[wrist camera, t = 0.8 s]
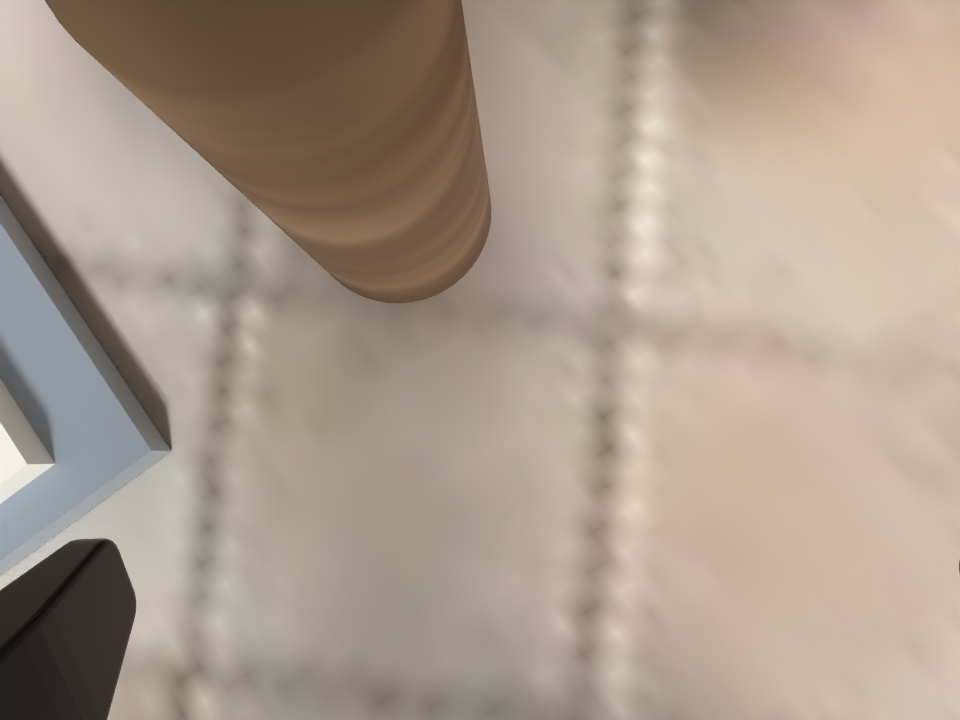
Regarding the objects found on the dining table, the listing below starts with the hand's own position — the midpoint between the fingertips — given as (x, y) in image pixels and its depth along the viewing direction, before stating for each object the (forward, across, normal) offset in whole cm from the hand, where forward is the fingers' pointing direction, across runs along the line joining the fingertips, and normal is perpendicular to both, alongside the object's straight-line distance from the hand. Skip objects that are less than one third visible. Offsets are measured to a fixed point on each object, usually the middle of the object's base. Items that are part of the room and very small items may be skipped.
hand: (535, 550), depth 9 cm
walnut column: (+15, +3, +1) cm, 15 cm away
